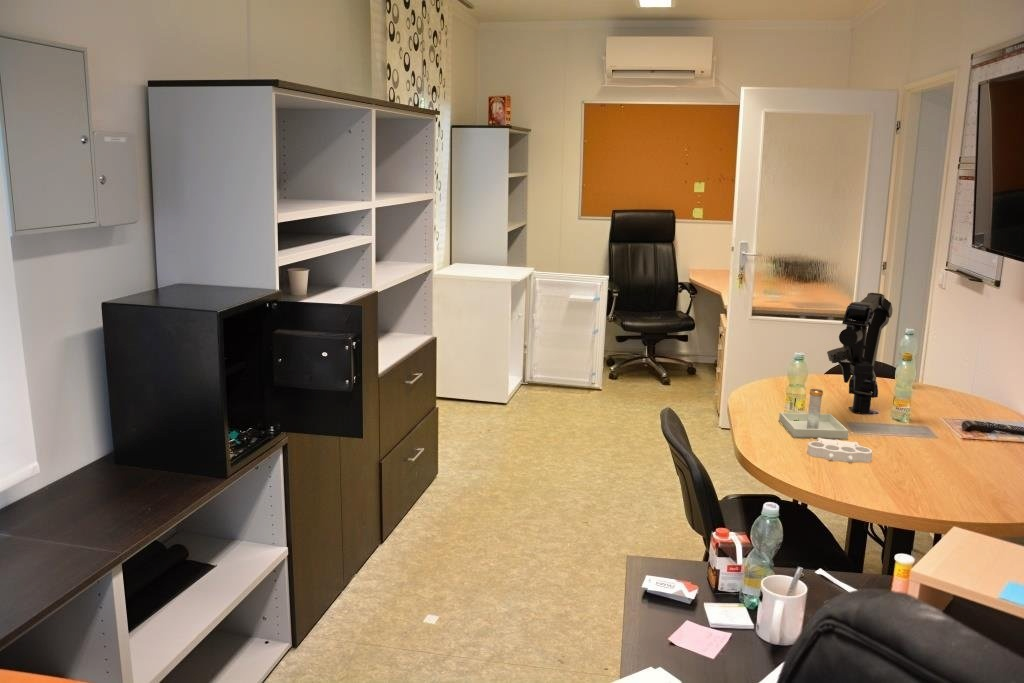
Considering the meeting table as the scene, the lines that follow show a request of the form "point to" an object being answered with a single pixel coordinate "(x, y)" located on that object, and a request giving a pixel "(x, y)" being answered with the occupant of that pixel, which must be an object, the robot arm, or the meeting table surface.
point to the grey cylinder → (814, 408)
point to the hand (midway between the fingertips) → (850, 386)
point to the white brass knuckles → (839, 450)
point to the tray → (826, 429)
